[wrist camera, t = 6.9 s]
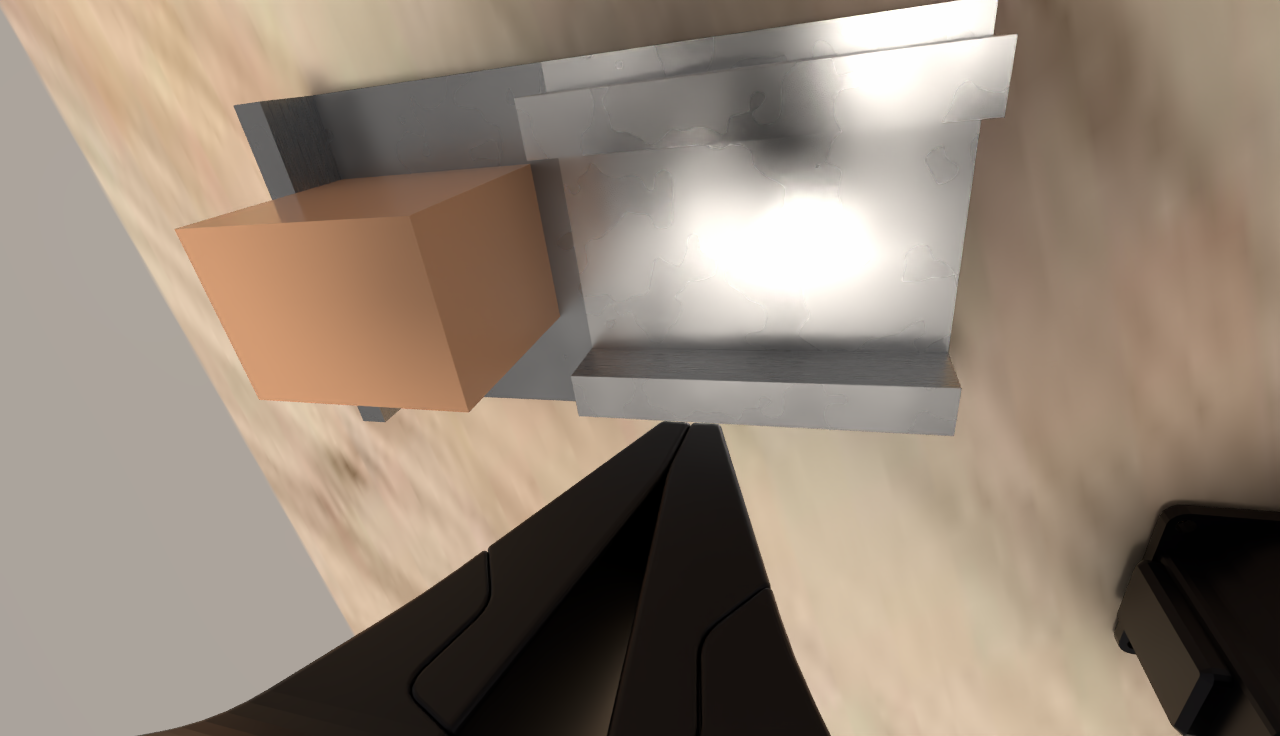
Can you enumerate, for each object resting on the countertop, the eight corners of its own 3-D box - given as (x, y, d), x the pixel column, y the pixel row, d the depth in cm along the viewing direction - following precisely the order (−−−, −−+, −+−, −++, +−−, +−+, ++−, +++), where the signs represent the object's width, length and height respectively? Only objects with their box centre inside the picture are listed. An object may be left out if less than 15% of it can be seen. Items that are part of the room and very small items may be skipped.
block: (530, 163, 17) (409, 215, 12) (560, 316, 20) (468, 412, 15) (342, 179, 19) (174, 228, 14) (390, 315, 22) (259, 399, 17)
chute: (988, -4, 13) (1025, -12, 11) (934, 401, 18) (950, 458, 16) (310, 96, 19) (233, 105, 17) (411, 381, 24) (363, 420, 22)
